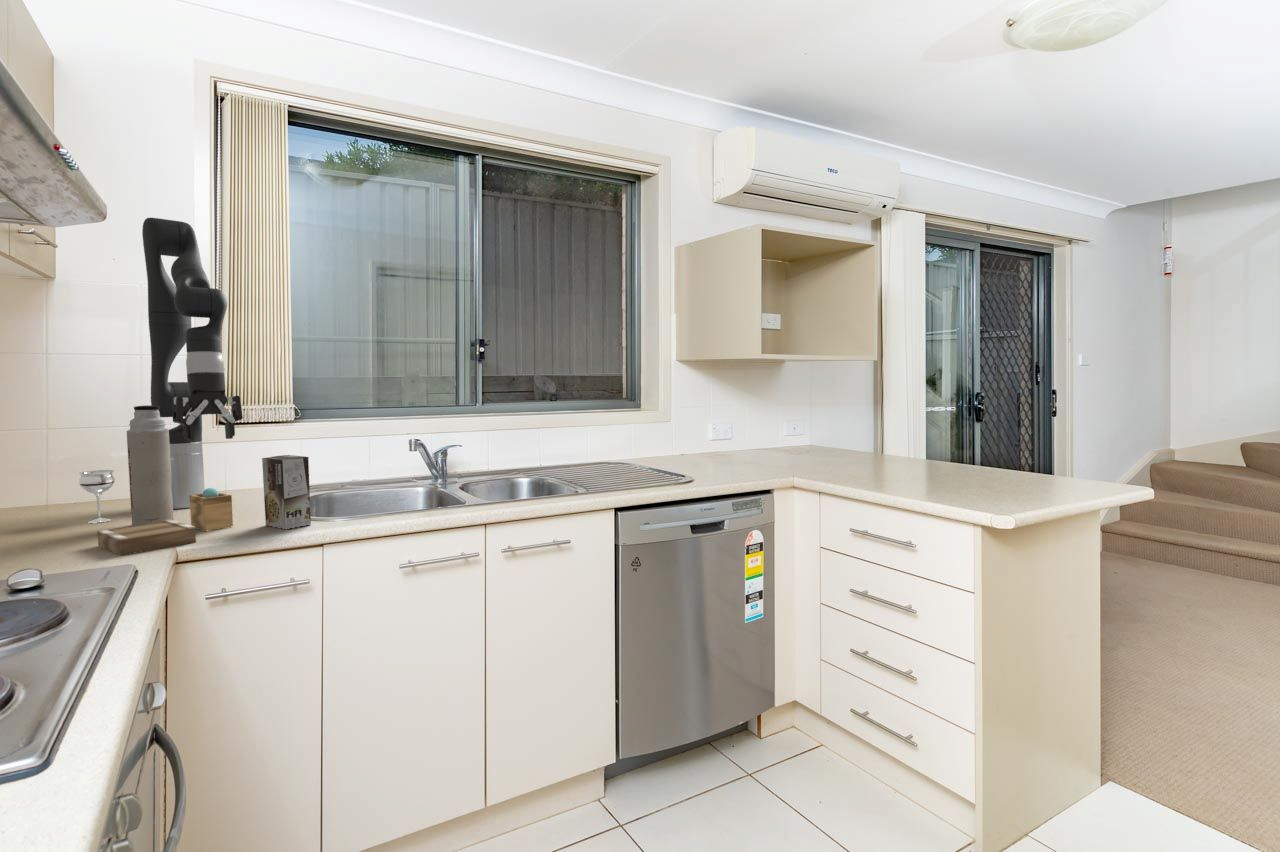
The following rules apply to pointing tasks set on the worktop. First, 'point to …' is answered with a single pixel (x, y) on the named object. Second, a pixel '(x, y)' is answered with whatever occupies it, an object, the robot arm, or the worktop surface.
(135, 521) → the thermos bottle
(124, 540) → the dock
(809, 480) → the worktop surface
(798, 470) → the worktop surface
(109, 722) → the worktop surface
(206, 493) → the ball
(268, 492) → the coffee box
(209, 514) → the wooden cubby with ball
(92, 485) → the wineglass
